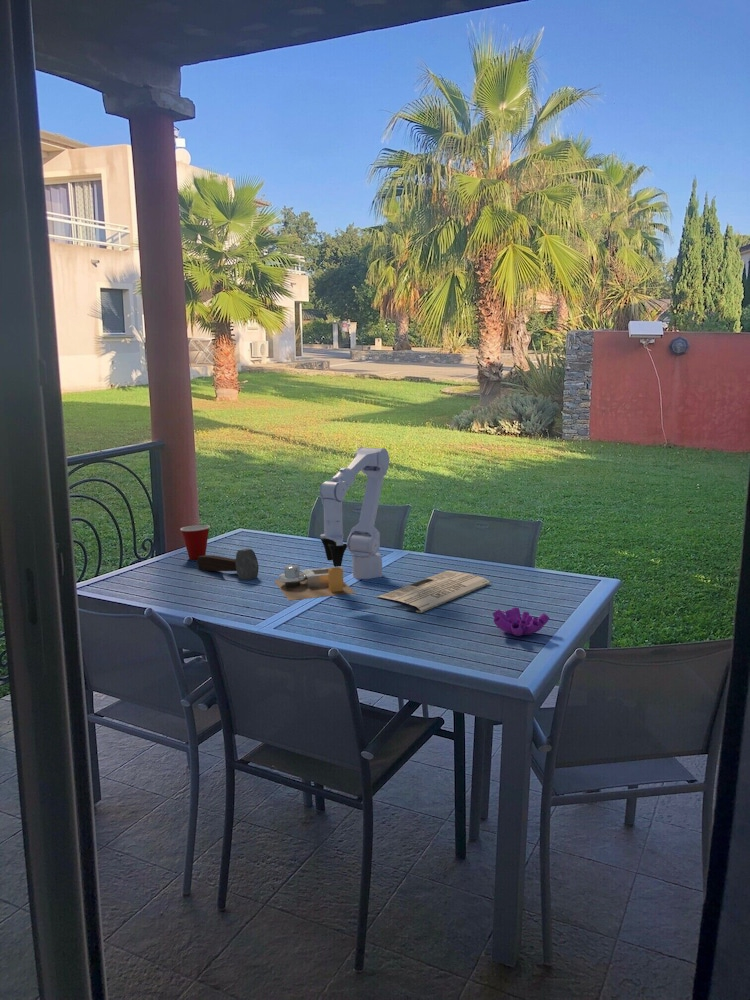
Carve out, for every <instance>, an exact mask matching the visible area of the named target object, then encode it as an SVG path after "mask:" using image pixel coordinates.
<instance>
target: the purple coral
mask: <svg viewBox="0 0 750 1000" xmlns="http://www.w3.org/2000/svg"><path fill="white" fill-rule="evenodd" d="M492 616H493V617H494V618H493V623H494V624H495V626H496V627H497V628H498V629H499V630H501V631H503V632H505V633H508V634H512V635H514V636H517V637H520V636H527V635H531V634H533V633H536V632H539V631H541V630H542V629H543V628H544V626H545V625H546V624H547V623H548V622H549V620H550V616H548V615H547V614H546V613H544V612H543V613H542V614H541V615H540V616H538V617H536V616H534V617H533V616H532V615H530V612H528V611H522V614H521V611H520V608H519V607H517V606H516V607H511V609H509V610H508V609H507V610H505V613H504V612H503V611H502V610H501V609H500V608H499V609H497V610H496V611H494V612H492Z"/></svg>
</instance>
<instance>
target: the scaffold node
mask: <svg viewBox="0 0 750 1000" xmlns="http://www.w3.org/2000/svg"><path fill="white" fill-rule="evenodd" d="M300 568H301V567H300V565H298V564H290V565H285V566H284V569H283V570H284V573H281V574H280V575H278V580H279V581H280V582H284V583H285V586H286V587H298V586H300V582H302V581H303V582H304V584H305V585H306V586H307V587H316V586H325V585H329V584H328V568H334V566H330V567H321V568H312V569H311V568H310V569H309V568H307V569H300ZM300 570H301V571H300Z"/></svg>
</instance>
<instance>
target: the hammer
mask: <svg viewBox="0 0 750 1000" xmlns="http://www.w3.org/2000/svg"><path fill="white" fill-rule="evenodd" d="M257 558H258V557H257V555H256V553H255V551H254V550H253V549H252V548H243V549H239V550H237V552H236V555H235V558H230V557H225V556H220V555H214V554H213V555H212V554H211V555H209V554H207V555H203V556H199V557H197V560H196V562H197V568H198V570H201V571H205V572H206V571H207V572H236V573H237V576H238V579H240V580H242V581H250V580H254V579H257V578H258V575H259V562H258V559H257Z"/></svg>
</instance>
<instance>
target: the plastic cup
mask: <svg viewBox="0 0 750 1000" xmlns="http://www.w3.org/2000/svg"><path fill="white" fill-rule="evenodd" d="M210 527H211V526H210V525H208V524H200V525H199V524H196V525H188V526H183V527H180V529H179V530H180V531H181V534H182V536H183V540H184V543H185V544H184V545H185V548H186V551H187V555H188V559H189V560H191V561H197V557H199V556H203V555H206V554H207V552H206V551H207V547H208V536H209V531H210Z"/></svg>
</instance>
